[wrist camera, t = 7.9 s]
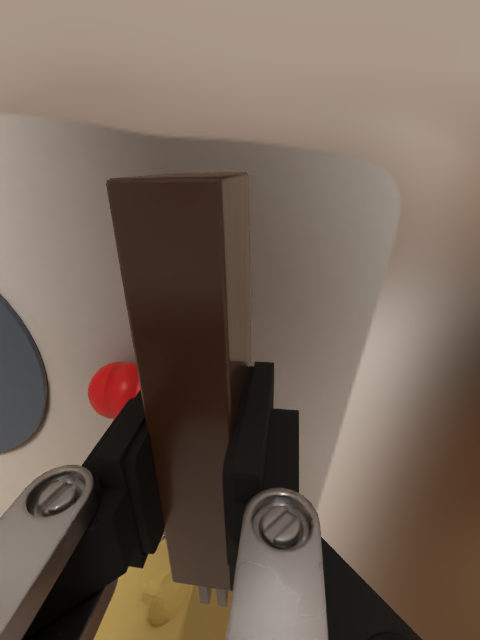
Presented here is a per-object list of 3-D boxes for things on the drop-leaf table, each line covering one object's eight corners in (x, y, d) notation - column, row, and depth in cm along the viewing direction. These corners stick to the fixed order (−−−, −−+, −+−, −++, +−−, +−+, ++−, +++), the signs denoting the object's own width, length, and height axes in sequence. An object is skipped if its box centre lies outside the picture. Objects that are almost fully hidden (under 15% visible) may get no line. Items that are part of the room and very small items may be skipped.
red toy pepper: (101, 350, 24) (70, 381, 20) (186, 355, 23) (168, 388, 20) (110, 394, 25) (83, 428, 22) (191, 399, 24) (175, 437, 21)
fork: (202, 590, 15) (179, 693, 12) (155, 173, 8) (78, 179, 5) (263, 599, 14) (255, 709, 12) (266, 171, 8) (247, 175, 5)
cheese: (112, 540, 33) (42, 684, 24) (211, 522, 30) (173, 681, 21) (167, 603, 36) (124, 750, 27) (261, 594, 33) (247, 757, 24)
